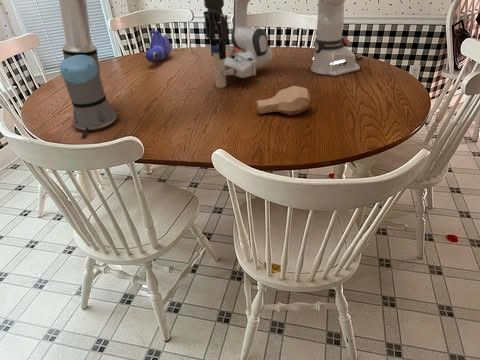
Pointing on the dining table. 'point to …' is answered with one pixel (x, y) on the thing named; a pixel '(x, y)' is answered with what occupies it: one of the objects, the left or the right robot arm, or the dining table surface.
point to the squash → (286, 101)
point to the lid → (215, 49)
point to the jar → (219, 71)
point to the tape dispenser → (235, 50)
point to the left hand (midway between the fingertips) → (218, 57)
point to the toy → (158, 48)
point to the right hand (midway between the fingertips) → (218, 71)
